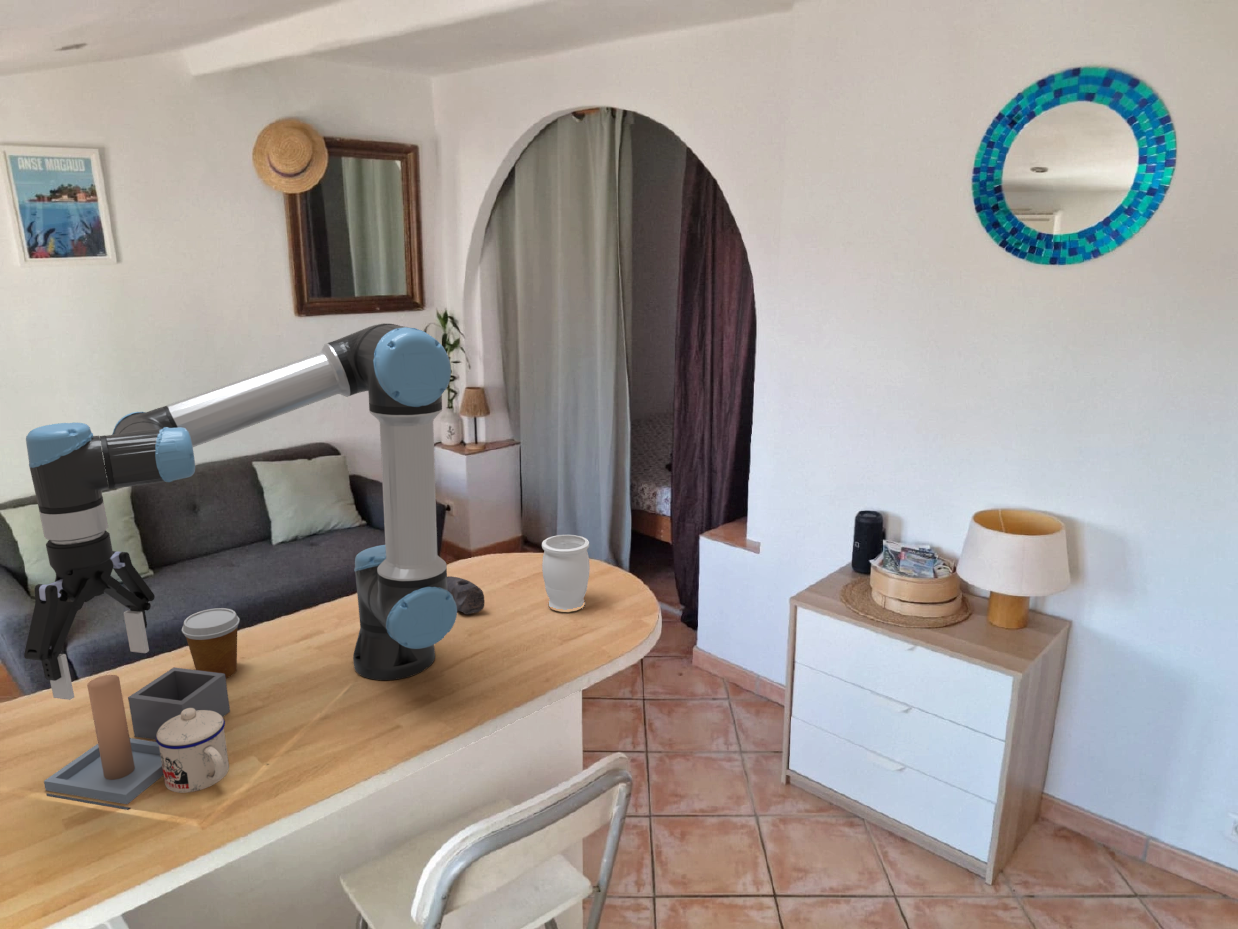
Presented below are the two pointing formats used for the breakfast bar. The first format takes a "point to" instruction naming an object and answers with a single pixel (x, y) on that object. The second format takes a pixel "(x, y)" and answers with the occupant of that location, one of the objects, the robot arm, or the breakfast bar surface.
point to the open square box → (176, 698)
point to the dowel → (111, 726)
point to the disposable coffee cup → (213, 640)
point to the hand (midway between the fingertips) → (103, 673)
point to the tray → (91, 783)
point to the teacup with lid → (193, 750)
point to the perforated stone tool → (465, 595)
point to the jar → (565, 570)
